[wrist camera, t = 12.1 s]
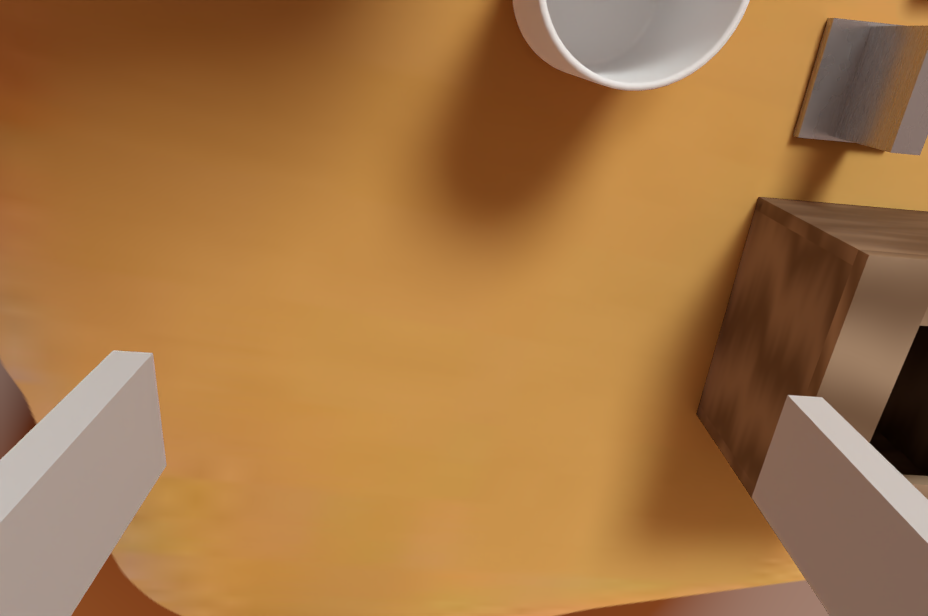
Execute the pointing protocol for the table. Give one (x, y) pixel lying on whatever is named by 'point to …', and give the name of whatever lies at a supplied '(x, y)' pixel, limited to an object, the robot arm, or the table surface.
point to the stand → (869, 87)
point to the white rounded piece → (628, 37)
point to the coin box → (825, 332)
